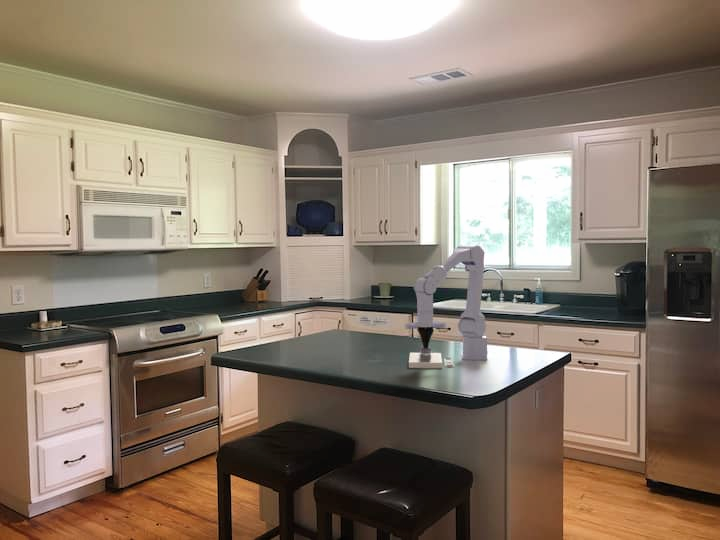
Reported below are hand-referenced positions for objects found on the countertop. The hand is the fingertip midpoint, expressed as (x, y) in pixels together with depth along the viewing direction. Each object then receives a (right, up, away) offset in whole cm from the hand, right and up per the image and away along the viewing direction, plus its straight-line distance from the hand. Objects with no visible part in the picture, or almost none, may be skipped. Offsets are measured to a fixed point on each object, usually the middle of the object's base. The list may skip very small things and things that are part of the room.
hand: (425, 348), depth 213 cm
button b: (+1, -5, +6) cm, 8 cm away
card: (+9, -6, +5) cm, 12 cm away
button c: (0, -7, 0) cm, 6 cm away
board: (+1, -6, +6) cm, 9 cm away
